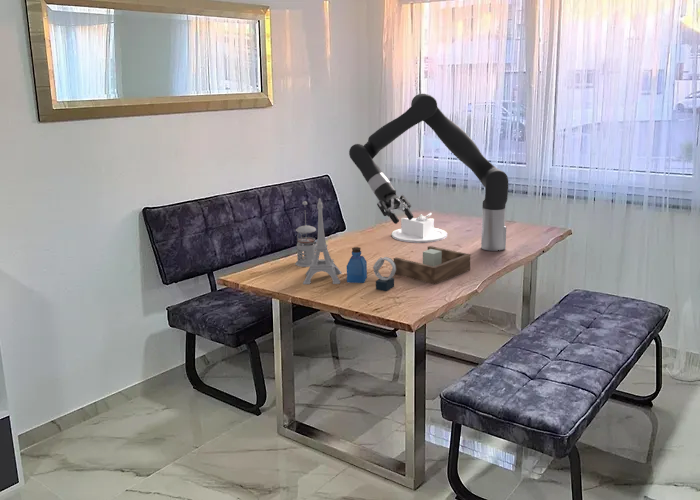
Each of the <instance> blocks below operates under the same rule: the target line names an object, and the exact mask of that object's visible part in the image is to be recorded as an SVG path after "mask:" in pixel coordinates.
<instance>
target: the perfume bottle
mask: <svg viewBox="0 0 700 500" xmlns="http://www.w3.org/2000/svg"><path fill="white" fill-rule="evenodd" d="M351 249H352V251H351V257H350V258H349V260H348V263H347V265H346V282H347V283H351V284H353V283H356V284H364V283H366V280H367V278H368V265H367V263H368V262H367V260H366V258H365V256H364V255H362V250H361V249H362V248H361V247H359V246H354V247H352V248H351Z"/></svg>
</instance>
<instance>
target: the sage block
mask: <svg viewBox="0 0 700 500" xmlns="http://www.w3.org/2000/svg"><path fill="white" fill-rule="evenodd" d="M441 263H442V251H439V250H434V249H429V250H428V249H426V250H423V251H422V264H426V265H430V266H436V265H439V264H441Z"/></svg>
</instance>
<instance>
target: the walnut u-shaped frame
mask: <svg viewBox="0 0 700 500" xmlns="http://www.w3.org/2000/svg"><path fill="white" fill-rule="evenodd" d="M429 249H434V250H439V251H442V263H441V264H439V265H436V266H430V265H426V264H423V262H422V263H421V262H418V261H412V260H408V259H405V258H400V257H393V261H394V263H395V266H396V272H395V274H394V275H397V276H402V277H404V278H409V279H413V280H417V281H419V282H423V283H428V284H432V285H436V284H439V283H441V282H444V281H446V280H448V279H449V280H450V279H451V278H454V277H455V276H459V275H460V274H462V273H463V274H464V273H466V272H468V271H470V270H471V254H470V253H465V252H460V251H456V250H451V249H446V248H443V247H442V248H441V247H436V246H432V245H428V246H427V250H429ZM467 270H468V271H467ZM465 271H466V272H465ZM458 274H459V275H458Z"/></svg>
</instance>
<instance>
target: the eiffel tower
mask: <svg viewBox="0 0 700 500" xmlns="http://www.w3.org/2000/svg"><path fill="white" fill-rule="evenodd" d="M316 205H317V207H316V209H317V212H318V214H317V215H318V217H317V227H318V228H317V241H316V244H317V245H316V254H315V258H314V260H312V263H311V266H310V267H308V270H307V272H305V279H304V280H303V282H302V285H311V284H310V283H312V281H311V280H312V278H313V276H314V275H315V274H317V273H319V272H324V273H326V274H328V275H329V276H330V277H331V279H332V285H340V284H341V280H340V279H339V277H338V275H339V274H341V275H342V271H341V270H340V268H339V267H338V266H337V264H335V262H334V259H333V258H332V257H331V255H330V252H329V249H328V244H327V242H326V235H325V228H324V218H323V208H324V206H323V201H322V200H321V198H318V202H317V204H316ZM320 253H323V259H320V256H321V255H320Z"/></svg>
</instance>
